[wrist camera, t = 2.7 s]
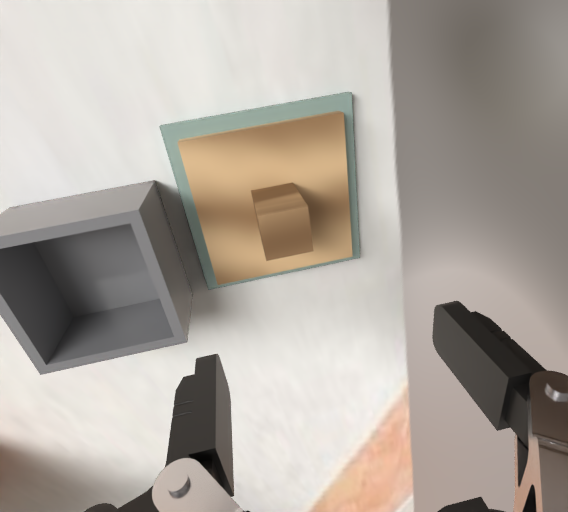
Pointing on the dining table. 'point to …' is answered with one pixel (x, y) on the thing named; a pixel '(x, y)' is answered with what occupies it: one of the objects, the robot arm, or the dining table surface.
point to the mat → (248, 119)
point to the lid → (271, 195)
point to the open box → (92, 277)
